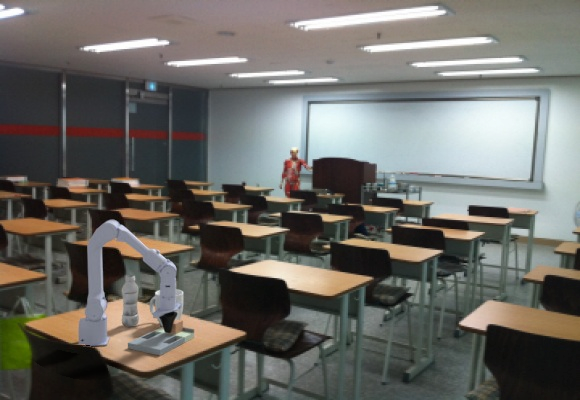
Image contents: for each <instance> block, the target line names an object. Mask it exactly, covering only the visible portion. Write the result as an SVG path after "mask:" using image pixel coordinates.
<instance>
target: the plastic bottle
mask: <svg viewBox="0 0 580 400" xmlns="http://www.w3.org/2000/svg"><path fill="white" fill-rule="evenodd" d="M135 281H136V275H134V274H128V275H125V281H124V282H125V283H124V284H123V286H122V287H121V295H122V305H123V306H122V307H123V308H122V315H121V316H122V317H121V324H122V325H123V327H128V328H129V327H130V328H131V327H136V326H137V325H138V324H139V320H140V317H139V313H138V310H139V309H138V297H139V286H138V284H137V283H136V282H135Z"/></svg>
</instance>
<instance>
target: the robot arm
mask: <svg viewBox="0 0 580 400" xmlns="http://www.w3.org/2000/svg"><path fill="white" fill-rule="evenodd" d="M115 239H116V240H115ZM113 240H115V242H118V243H119V242H121V243H122V242H123V243H125V244H126V245H128V246H130V248H132V249H133V250H135V251H136V252H137V253H139V254H140V255H141V257H142V261H143V262H144V263H145V264H146V265H147V266H148V267H150V268H151V269H152V270H154V271H155V273H158V275H159V277H160V283H159V290H160V308H159V309H157V310H156V311H155V310H154V312H153V315H152V318H154V319H157V320H158V318H160V320H161V322H162V324H163V326H162V327H163V328H164V332H166V333H170V332H171V330H172V326H173V323H174V320H175V318H176V316H177V312H176V311H178V309H181V308H182V303H178V302H177V303H176V289H177V267H176V265H175V263H174V262H173V261H171V260H170V259H169V258H166V257H164V256H163V254H161V251H160V250H159V249H155V248H149V247H147V245H145V244H144V243H143V242H142V241H141V240H140V239H139V238H137V236H135V234H134V233H132V232H131V230H129V229H128V228H127V227H126V226H124V225H123V224H120V222H119V221H117V220H115V219H109V220H106V221H105V222H104V223H102V224H101V225H100V226H99V227H98V228H96V229H95V231H94V233H93V234H92V235H91V237H90V238H89V240H88V242H87V245H86V247H87V249H86V250H87V251H86V252H87V277H88V278H87V279H88V280H87V281H88V283H87V284H88V295H87V301H86V303H87V304H86V307H85V308H84V315H85V317H82V318H79V321H78V345H79V344H85V345H90V346H89V347H98V346H99V347H100V346H107V345H108V342H109V340H110V336H108V315H107V314H106V312H105V311H107V308H108V301H107V300H106V297H105V292H104V271H103V270H104V269H103V247H104V246H105V245H107V243H110V242H112V241H113Z"/></svg>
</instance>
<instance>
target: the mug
mask: <svg viewBox="0 0 580 400" xmlns="http://www.w3.org/2000/svg"><path fill="white" fill-rule="evenodd" d="M154 293H155V295H154V296H153V297H152V298H151V299H150V301H149V311H150V314H151V315H152V316H153V312H155V311H156V310H157V309H159V308H160V289H158V290H156V291H155V292H154ZM177 302H178V303H182V308H181V309H178V311H176V312H177V316H176V318H175V319H178V320H182V315H183V311H184V291H183V290H181V289H179V288H176V303H177ZM157 321H158V324H159V325H160V326H161V327H163V324H162V322H161V320H160V318H158V319H157Z"/></svg>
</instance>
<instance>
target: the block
mask: <svg viewBox="0 0 580 400" xmlns="http://www.w3.org/2000/svg"><path fill="white" fill-rule="evenodd" d="M183 327H184V320H182V319H180V320H178V319H175V320H174V323H173V326H172V330H171V332H170V334H175V335H176V334H178V333H180V332H182V331H183Z"/></svg>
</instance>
